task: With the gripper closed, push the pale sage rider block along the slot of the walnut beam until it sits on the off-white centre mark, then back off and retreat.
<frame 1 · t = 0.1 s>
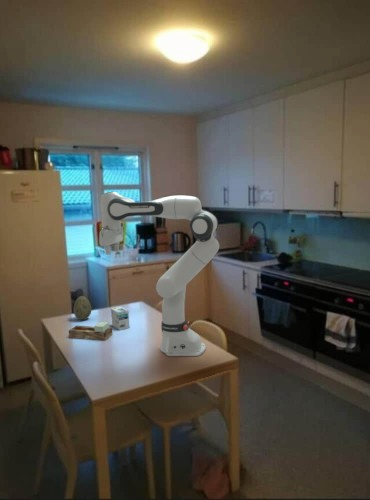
hand: (112, 252, 192), 48 cm above the table, fingers open, 8 cm apart
rider: (101, 328, 208), point 5 cm above the table, slide at -7.0 cm
decorative egg: (83, 319, 240), on the table
light bulb box: (120, 327, 224), on the table
beam: (90, 336, 211), on the table
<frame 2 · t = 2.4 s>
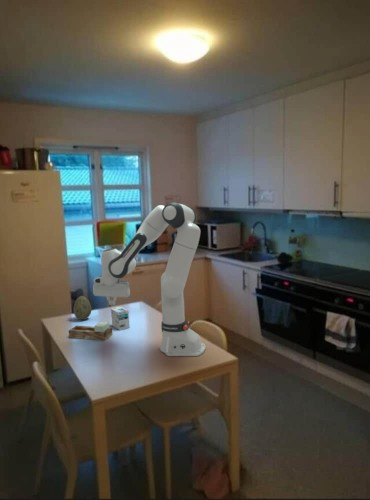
hand: (112, 304, 204), 19 cm above the table, fingers closed
nothing on the table moved.
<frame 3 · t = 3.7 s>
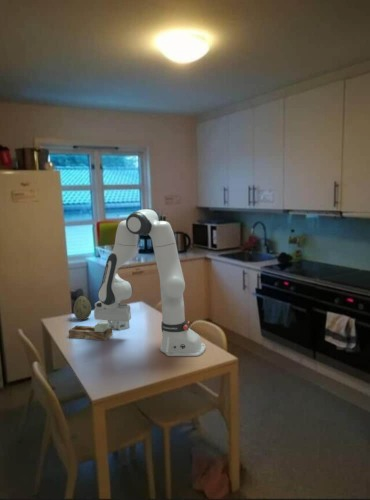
hand: (113, 327, 206), 6 cm above the table, fingers closed
nothing on the table moved.
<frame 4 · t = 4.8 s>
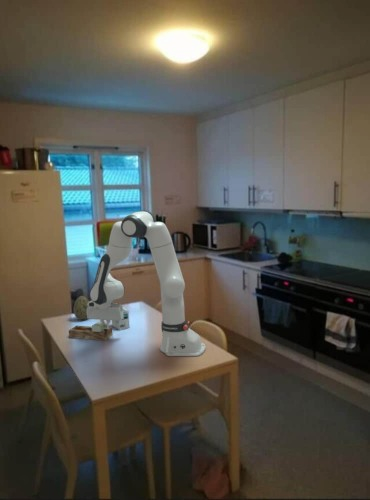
hand: (105, 327, 207), 6 cm above the table, fingers closed
rider: (99, 328, 209), point 5 cm above the table, slide at -5.4 cm, touching gripper
everything else where it was.
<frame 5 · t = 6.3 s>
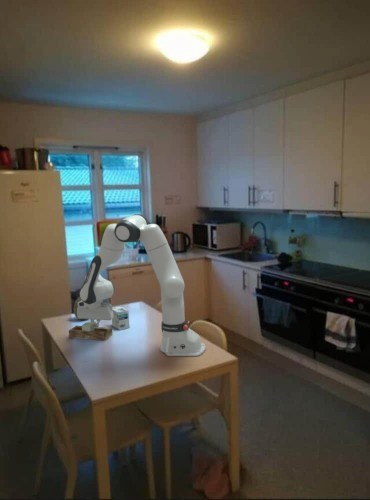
hand: (95, 326, 209), 6 cm above the table, fingers closed
rider: (89, 327, 210), point 5 cm above the table, slide at 0.5 cm, touching gripper
everything else where it was.
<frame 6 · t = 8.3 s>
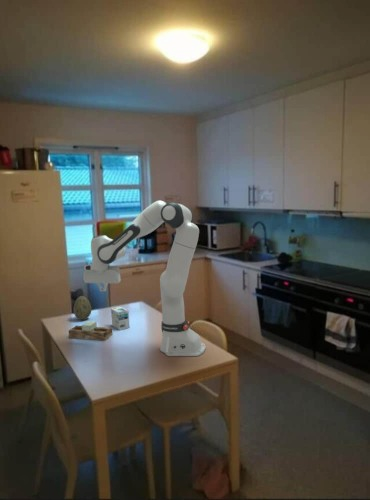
hand: (103, 291, 205), 26 cm above the table, fingers closed
rider: (89, 327, 210), point 5 cm above the table, slide at 0.5 cm
everything else where it was.
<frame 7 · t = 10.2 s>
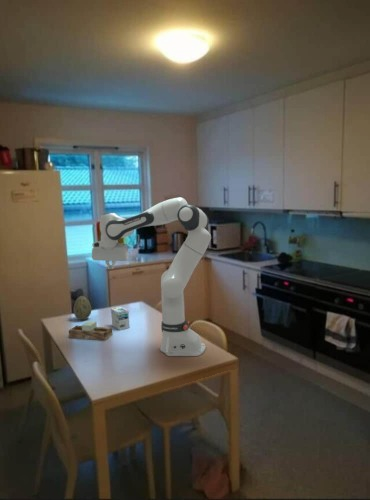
hand: (110, 268, 207), 37 cm above the table, fingers closed
nothing on the table moved.
at the end: rider slide at 0.5 cm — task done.
